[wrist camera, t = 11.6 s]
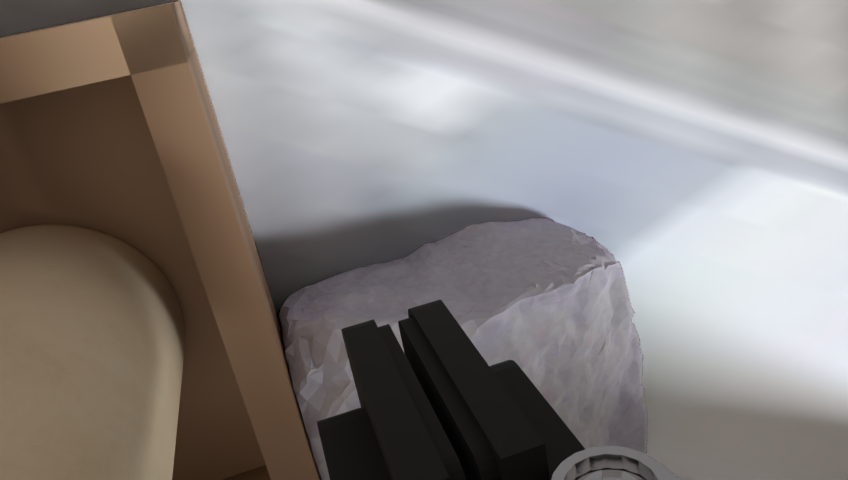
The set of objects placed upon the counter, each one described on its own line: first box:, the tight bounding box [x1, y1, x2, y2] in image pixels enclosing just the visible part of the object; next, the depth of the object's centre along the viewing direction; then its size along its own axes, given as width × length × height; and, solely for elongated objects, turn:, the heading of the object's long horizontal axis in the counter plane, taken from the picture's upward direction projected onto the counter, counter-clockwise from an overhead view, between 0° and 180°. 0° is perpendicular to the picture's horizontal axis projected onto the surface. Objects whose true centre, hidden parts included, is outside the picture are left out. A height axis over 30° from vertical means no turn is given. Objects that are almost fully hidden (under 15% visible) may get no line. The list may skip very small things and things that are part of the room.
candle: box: [0, 224, 185, 480], centre depth 12 cm, size 6×6×10 cm
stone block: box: [279, 218, 647, 480], centre depth 20 cm, size 12×5×10 cm
